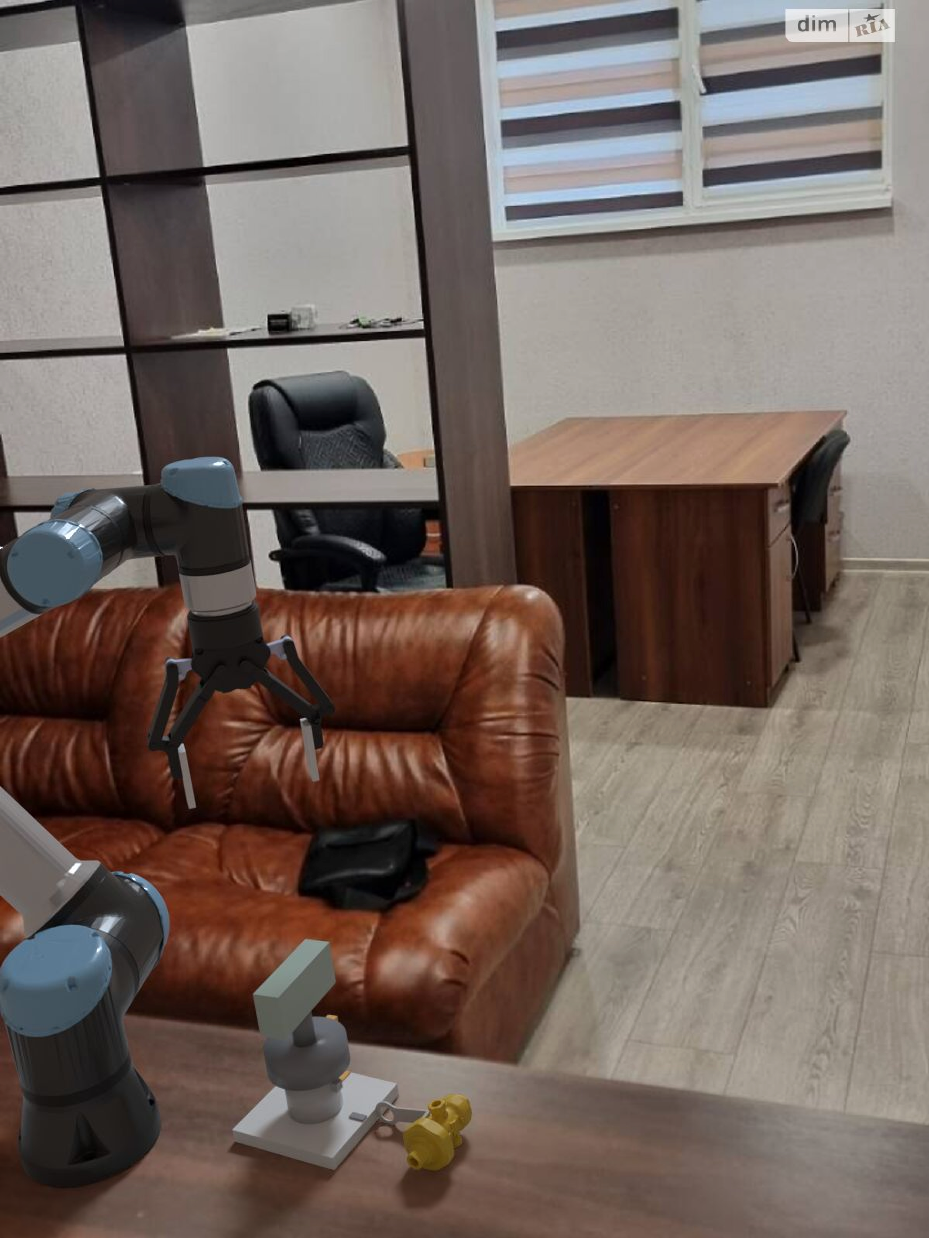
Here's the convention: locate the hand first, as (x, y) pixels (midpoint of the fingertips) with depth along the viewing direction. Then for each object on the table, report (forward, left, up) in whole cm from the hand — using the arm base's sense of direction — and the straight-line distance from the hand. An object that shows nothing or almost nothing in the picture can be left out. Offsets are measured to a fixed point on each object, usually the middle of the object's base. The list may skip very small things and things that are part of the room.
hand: (253, 790), depth 149 cm
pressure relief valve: (+20, -8, -35) cm, 41 cm away
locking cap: (+8, -8, -28) cm, 30 cm away
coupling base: (+8, -8, -35) cm, 36 cm away
